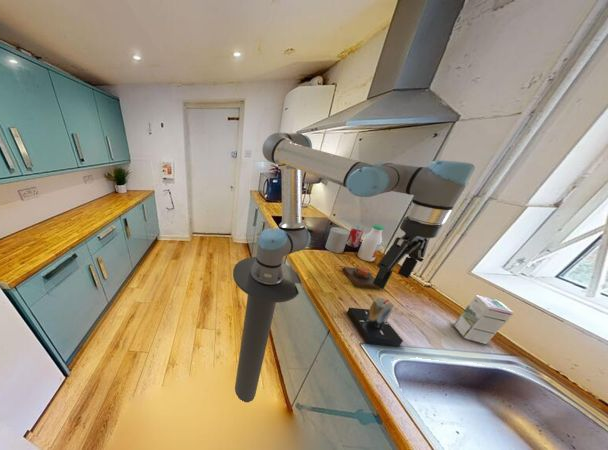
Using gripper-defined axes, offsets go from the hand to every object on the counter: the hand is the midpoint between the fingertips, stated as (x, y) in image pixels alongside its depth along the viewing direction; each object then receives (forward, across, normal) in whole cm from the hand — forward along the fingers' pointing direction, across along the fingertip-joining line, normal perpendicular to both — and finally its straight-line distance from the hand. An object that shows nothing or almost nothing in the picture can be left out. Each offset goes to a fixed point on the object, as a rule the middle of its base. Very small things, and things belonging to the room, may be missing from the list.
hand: (390, 280), depth 63 cm
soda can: (+20, -51, -40) cm, 68 cm away
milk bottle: (+20, -44, -28) cm, 56 cm away
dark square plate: (+20, -22, -17) cm, 34 cm away
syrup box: (+20, -28, +16) cm, 38 cm away
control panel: (+20, +2, +2) cm, 20 cm away
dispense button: (+16, -22, -17) cm, 32 cm away
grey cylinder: (+20, -37, -41) cm, 58 cm away
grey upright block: (+16, +2, +2) cm, 17 cm away
